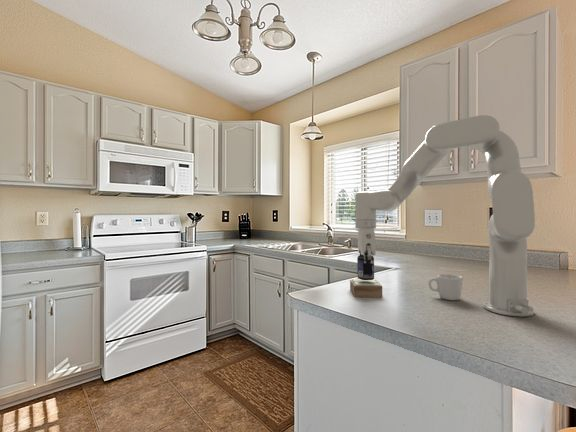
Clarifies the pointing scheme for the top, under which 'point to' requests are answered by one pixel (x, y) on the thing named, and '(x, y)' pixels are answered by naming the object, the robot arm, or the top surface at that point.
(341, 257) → the top surface
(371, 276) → the pill bottle
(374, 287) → the base block
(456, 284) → the cup
